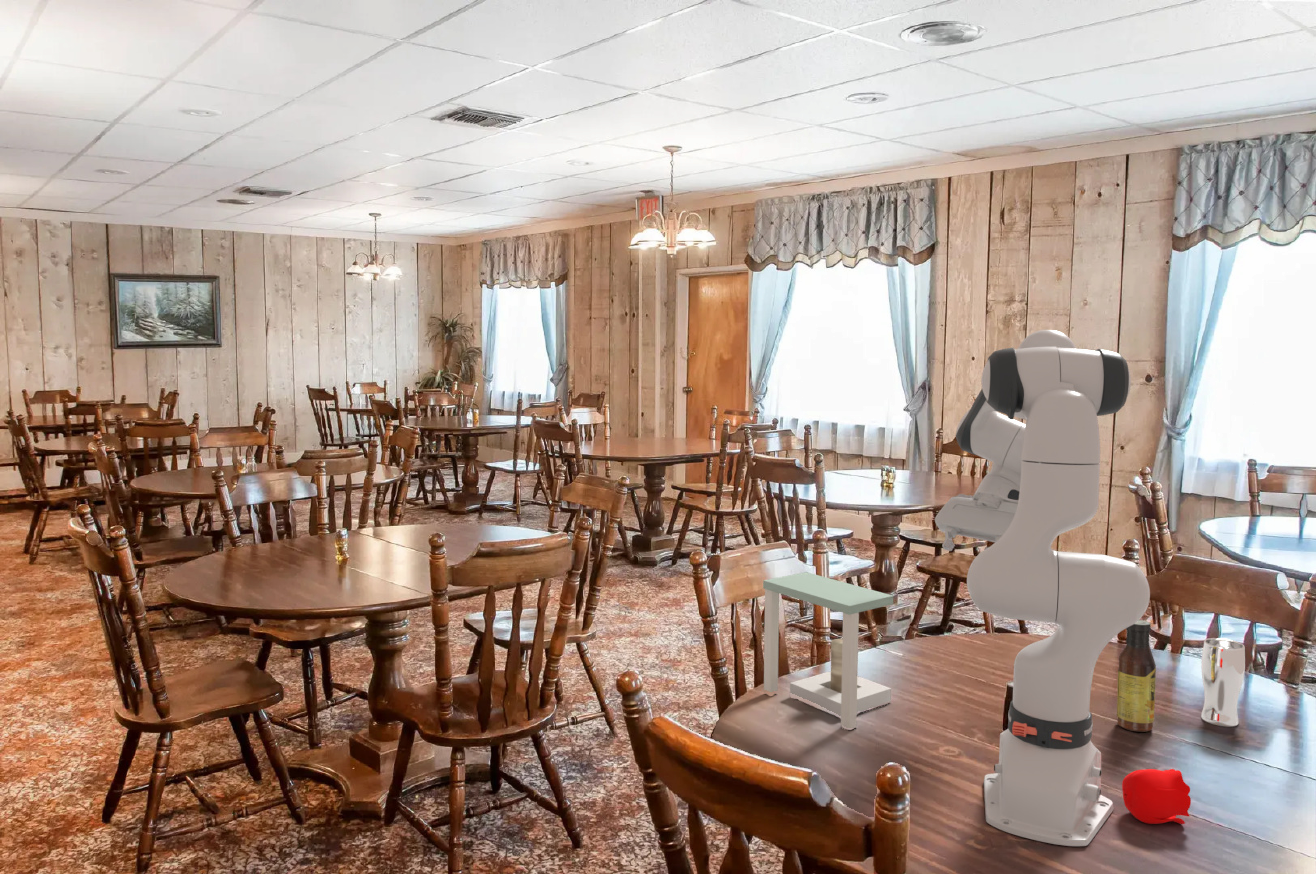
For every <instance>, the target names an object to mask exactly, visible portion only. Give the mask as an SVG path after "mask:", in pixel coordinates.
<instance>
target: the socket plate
mask: <svg viewBox="0 0 1316 874" xmlns="http://www.w3.org/2000/svg"><path fill="white" fill-rule="evenodd" d="M830 688H831V670H830V671H826V672H822V673H819V674H816V675H813V676H809V677H806V678H802V679H798V680H795V681H791V682H790V684H789V694H790V693H792V694H795V695H797V696H799V697H802V698H803V699H807V700H809V701H811V702H813V703H816V704H818V705H820V706H821V707H824V708H826V709H827V710H829V711H832V712H834V713H836V714H838V715H839V716H841V693H839V692H836V691H834V690H831V689H830ZM890 701H891V702H892V688H891V687H889V686H885V685H884V684H880V683H878V682H875V681H872V680H870V679H867V678H866V677H861V676H858V675H857V712H858V711H864V710H867V709H869V708H872V707H876V706H878V705H881V704H883V703H887V702H890Z"/></svg>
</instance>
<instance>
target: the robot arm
mask: <svg viewBox="0 0 1316 874" xmlns="http://www.w3.org/2000/svg"><path fill="white" fill-rule="evenodd" d="M980 382H981V390H980V391H979V393H978V394H977V396H976V398H975V400H974V402H973V403H972V404H971V407H970V409H969V410H967V411H966V412H965V413H964V414H963V416H962V417H961V419H960V420H959V423H958V425H957V427H956V432H955V438H956V442H957V444H958V446H959V447H960V449H961V450H962V451H963V452H965V453H968V454H972V455H974V456H978V457H980V458H982V459H984V460H987V461H989V462H991V463H992V465H991V470H990V471H989V472H988V473H987V474H985V476H984V477H983V478H982V480H981V481H980V484H979V485H978V487H977V489H976V491H975V492H974V493H973V495H971V494H970V495H967V494H963V493H958V494H957V495H954V496H951V497H950V499H949V500H948V501H946V503H945V504H944V505H943V506H942V508H941V509H940V510H939V511H938V513H937V514H936V516H935V517H934V522H935V525H936V527H938V529H939V531H940V532H941V533H944V541H943V542H942V544H941V545H942V548H943V550H945V551H950V552H952V551H953V549H954V548H955V546H956V544H955V543H954V542H953V539H955V538H956V536H961V537H967V538H972V539H978V540H982V541H987V542H992V543H993V544H992V545H990V546H985V547H984V549H983V550H982V551H981V552H980V553H978V555H977V556H975V557H974V559H973V560H972V562H971V564H970V566H969V567H968V571H967V575H966V586H967V587H966V588H967V591H968V594H969V597H970V599H971V600H972V602H973V604H974V605H975V607H976V608H977V609H978V610H980V611H981V612H984V613H986V614H991V615H994V616H998V617H1001V618H1006V619H1008V620H1019V621H1030V622H1031V621H1032V622H1041V623H1042V622H1043V623H1051V624H1052V623H1054V624H1056V625H1058V628H1057V629H1056V631H1054V633H1052V634H1051V635H1050V636H1048V637H1046V638H1043V639H1041V640H1038V641H1034V642H1032V643H1031V644H1028V645H1026V646H1025V647H1023V648H1022V649H1021V650H1020V651H1019V652H1018V653H1017V655H1016V657H1015V659H1014V662H1013V683H1012V684H1013V686H1012V700H1010V703H1009V708H1008V709H1009V710H1008V713H1007V714H1008V715H1007V716H1008V717H1007V718H1008V724H1007V729H1005V730H1004V731H1002V732H1001V733H1000V734H999V748H998V749H999V750H998V751H999V753H998V763H995V764H994V765H993V771H994V773H987V774H985V775H984V777H983V778H984V779H983V794H984V809H985V810H984V811H985V812H984V813H985V814H984V815H985V821H986V823H987V824H989V825H991V827H994V828H996V829H998V830H1000V831H1002V832H1006V833H1008V834H1012V835H1015V836H1017V837H1021V838H1026V839H1030V840H1034V841H1037V842H1042V843H1048V844H1053V845H1060V846H1067V847H1086V846H1088V845H1089V844H1090V843H1091V842H1092V840H1093V839H1094V837H1095V836H1096V834H1098V832H1099V831H1100V829H1101V827H1102V826H1103V825H1104V823H1105V822H1106V820H1108V818H1109V816H1110V815H1111V814H1112V813H1113V811H1114V802H1113V801H1112V800H1111V799H1110V798H1107V796H1105V795H1103V794H1102V791H1101V789H1102V788H1101V787H1102V786H1101V785H1102V784H1101V783H1102V753H1101V751H1100V750H1099V749H1098V748H1097V747H1096V746H1095V745H1094V743H1093V742H1092V741H1091V739H1092V736H1093V735H1092V734H1093V733H1092V732H1093V728H1094V726H1093V724H1094V723H1093V714H1092V712H1091V711H1090V705H1091V704H1090V703H1091V692H1092V685H1093V684H1092V683H1093V677H1094V676H1093V675H1094V670H1095V667H1096V664H1097V661H1098V660H1099V657H1100V655H1101V653H1102V652H1103V650H1104V648H1105V647H1106V646H1107V645H1108V644H1109V643H1110V641H1111V640H1112V639H1114V638H1115V637H1116V636H1117V635H1118V634H1120V633H1122V631H1124V630H1126V628H1128V627H1129V626H1131V625H1133V624H1135V623H1136V622H1137V621H1138V620H1141V618H1142V617H1143V616H1144V615H1145V613H1146V611H1147V609H1148V607H1149V604H1150V598H1151V590H1150V589H1151V588H1150V585H1149V581H1148V579H1147V577H1146V575H1145V572H1143V570H1142V569H1141V568H1140V567H1139V566H1138V564H1137V563H1135V562H1134V561H1130V560H1127V559H1123V558H1120V557H1115V556H1111V555H1106V554H1101V553H1087V552H1086V553H1085V552H1072V551H1058V550H1054V549H1052V545H1053V543H1054V541H1055V540H1056V539H1057V537H1058V536H1060V535H1061V534H1065V533H1067V532H1069V531H1071V530H1074V529H1077V528H1079V527H1081V526H1083V525H1085V524H1087V523H1089V522H1090V521H1091V520H1092V519H1093V518H1094V517H1095V516H1096V514H1097V512H1098V509H1099V497H1100V496H1099V495H1100V475H1101V470H1100V469H1101V441H1100V440H1101V439H1100V437H1101V436H1100V427H1099V420H1098V417H1101V416H1107V415H1111V414H1116V413H1118V412H1120V411H1121V409H1122V408H1123V407H1124V406H1125V404H1126V402H1127V398H1128V397H1129V394H1130V390H1131V385H1132V377H1131V372H1130V369H1129V365H1128V363H1127V360H1126V359H1125V358H1124V357H1123V356H1122V355H1120V354H1119V352H1116V351H1115V352H1114V351H1112V350H1107V349H1101V348H1097V349H1094V350H1091V349H1087V348H1086V349H1084V348H1077V347H1076V345H1075V343H1074V342H1073V340H1072V339H1071V338H1070V337H1069V336H1068V335H1066V334H1065V333H1063V332H1062V331H1059V330H1054V329H1039V330H1036V331H1034V332H1032V333H1031V334H1029V335H1027V336H1026V337H1025V338H1024V339H1023V341H1022V342H1021V343H1020V345H1018V347H1017V349H1015V348H1014V347H1008V348H1002V349H998V350H995V351H993V352H992V353H991V354H990V355H989V356H988V357H987V360H986V363H985V365H984V367H983V370H982V373H981V381H980ZM1014 417H1016V418H1019V419H1023V420H1025V423H1024V422H1021V421H1020V420H1016V419H1015V418H1014Z"/></svg>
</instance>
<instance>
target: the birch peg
mask: <svg viewBox="0 0 1316 874" xmlns="http://www.w3.org/2000/svg"><path fill="white" fill-rule="evenodd" d="M842 640H843V638H836V639H835V638H834V639H832V640H831V644H830V647H831V648H830V671H831V688H830V689H831V690H834V691H836V692H839V693H841V690H842Z"/></svg>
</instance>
